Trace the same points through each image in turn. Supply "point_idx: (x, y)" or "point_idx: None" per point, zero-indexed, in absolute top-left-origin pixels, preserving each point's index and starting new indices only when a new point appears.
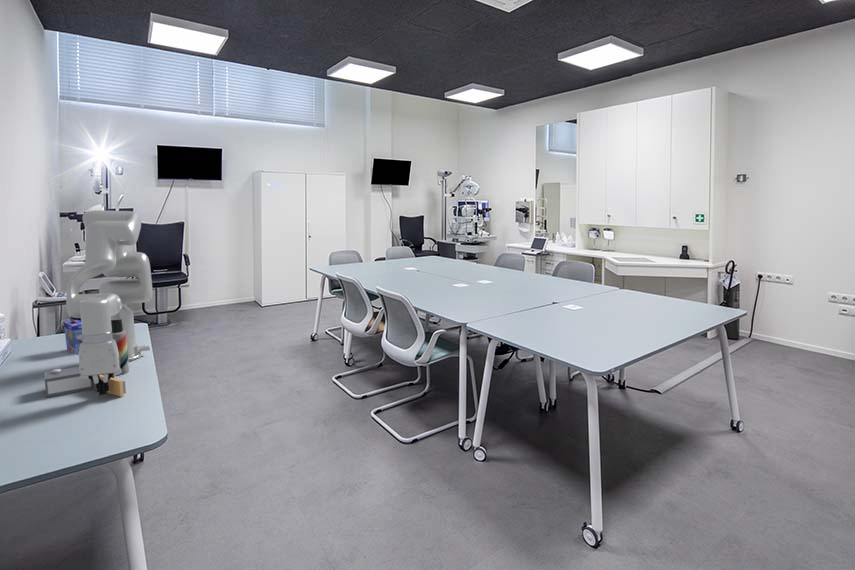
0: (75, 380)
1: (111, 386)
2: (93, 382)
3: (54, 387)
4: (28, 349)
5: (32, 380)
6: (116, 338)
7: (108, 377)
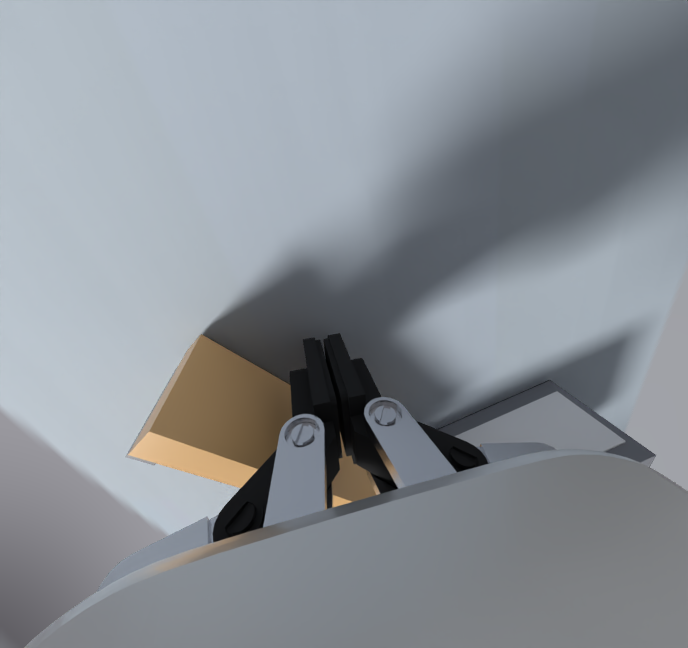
0: None
1: (283, 421)
2: None
3: (560, 422)
4: None
5: None
6: None
7: (276, 481)
